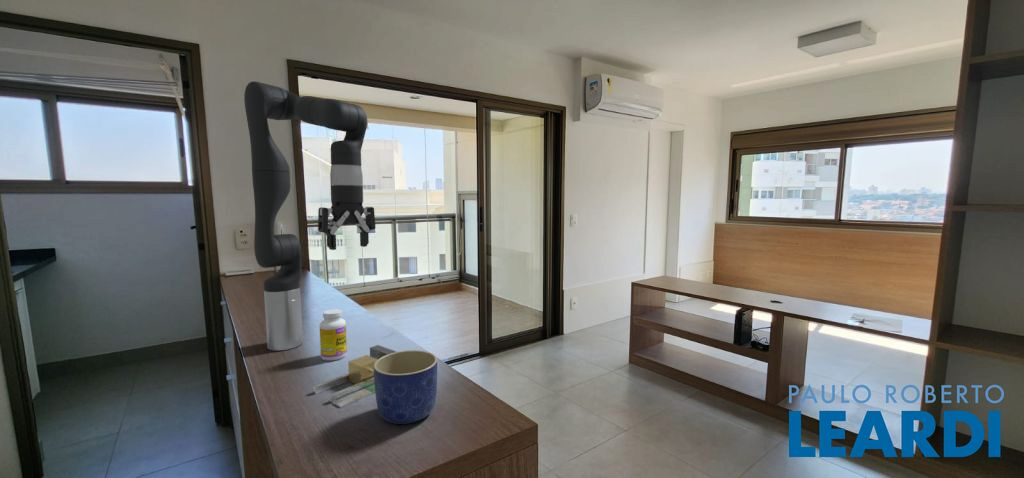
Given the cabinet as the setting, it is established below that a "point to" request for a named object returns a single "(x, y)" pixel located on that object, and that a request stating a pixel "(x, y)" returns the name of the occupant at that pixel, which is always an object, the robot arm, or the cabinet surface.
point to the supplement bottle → (333, 335)
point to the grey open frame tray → (356, 390)
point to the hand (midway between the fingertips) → (348, 248)
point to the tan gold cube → (361, 369)
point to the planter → (405, 385)
